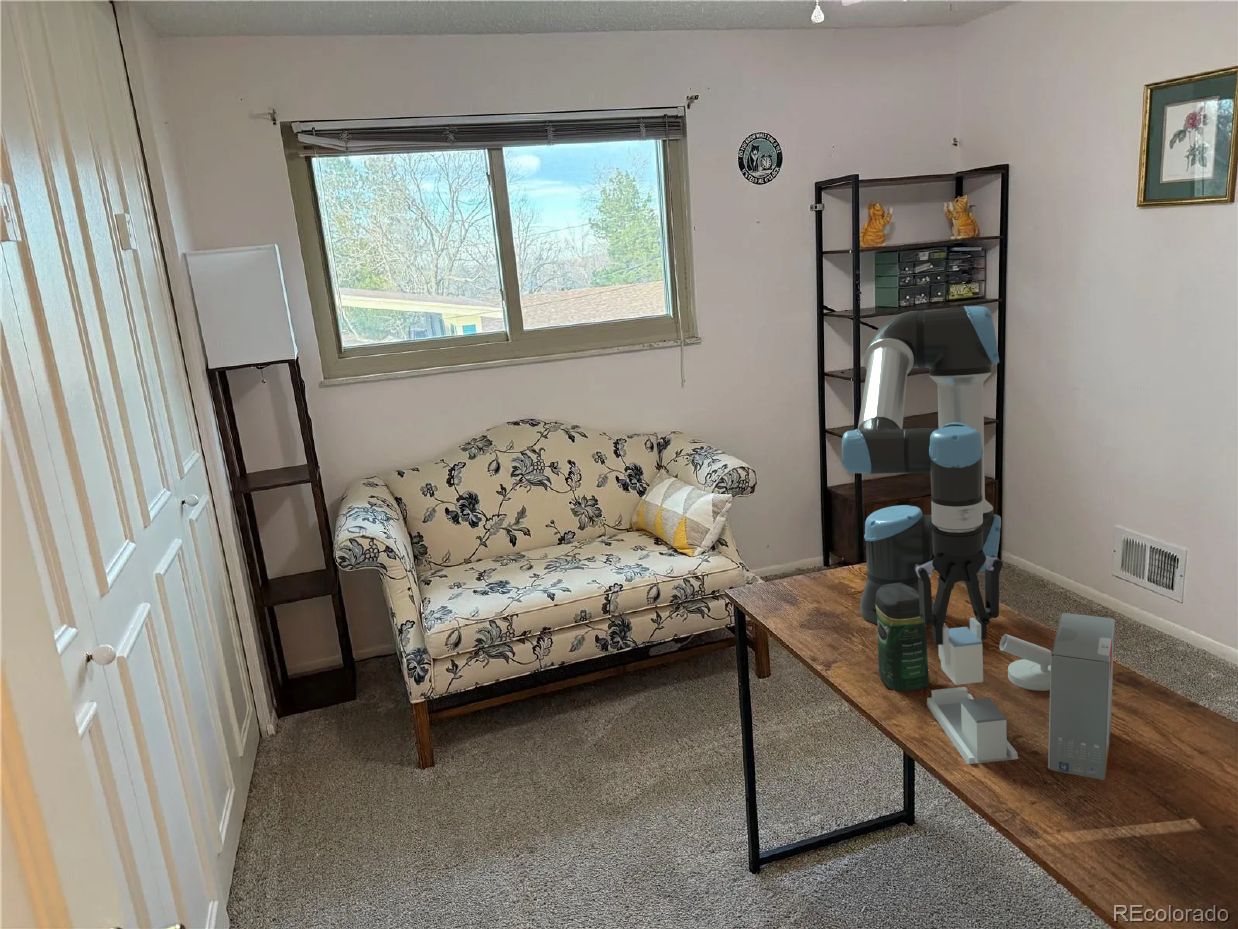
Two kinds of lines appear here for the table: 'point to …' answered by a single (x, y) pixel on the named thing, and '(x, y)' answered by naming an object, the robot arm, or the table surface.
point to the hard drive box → (1081, 695)
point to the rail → (957, 721)
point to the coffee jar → (901, 638)
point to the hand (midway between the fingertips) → (959, 658)
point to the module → (964, 657)
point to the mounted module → (984, 729)
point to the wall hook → (1028, 664)
